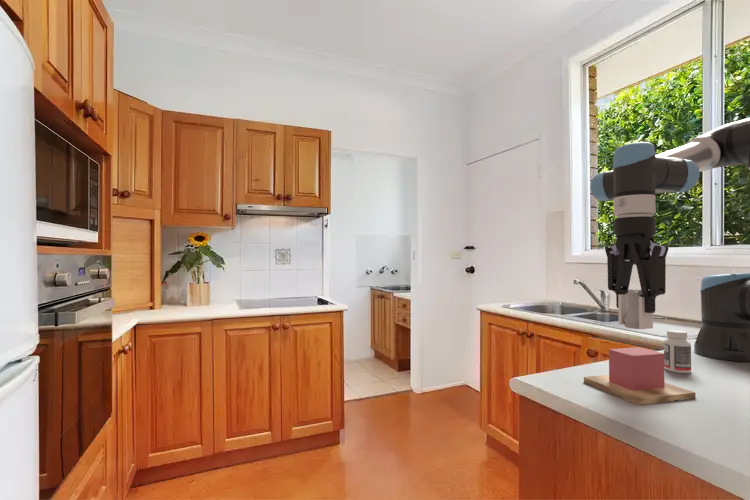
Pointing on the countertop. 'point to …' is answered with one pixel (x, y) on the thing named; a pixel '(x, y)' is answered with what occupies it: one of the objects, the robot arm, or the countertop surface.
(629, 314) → the rook chess piece
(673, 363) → the pill bottle
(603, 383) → the base plate
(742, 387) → the countertop surface
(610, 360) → the brick
